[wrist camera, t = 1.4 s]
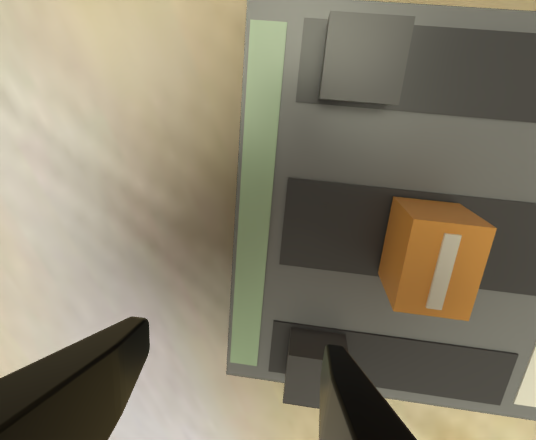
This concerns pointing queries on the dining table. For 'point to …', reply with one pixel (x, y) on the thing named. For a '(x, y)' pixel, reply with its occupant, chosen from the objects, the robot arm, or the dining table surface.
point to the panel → (383, 195)
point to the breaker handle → (434, 257)
